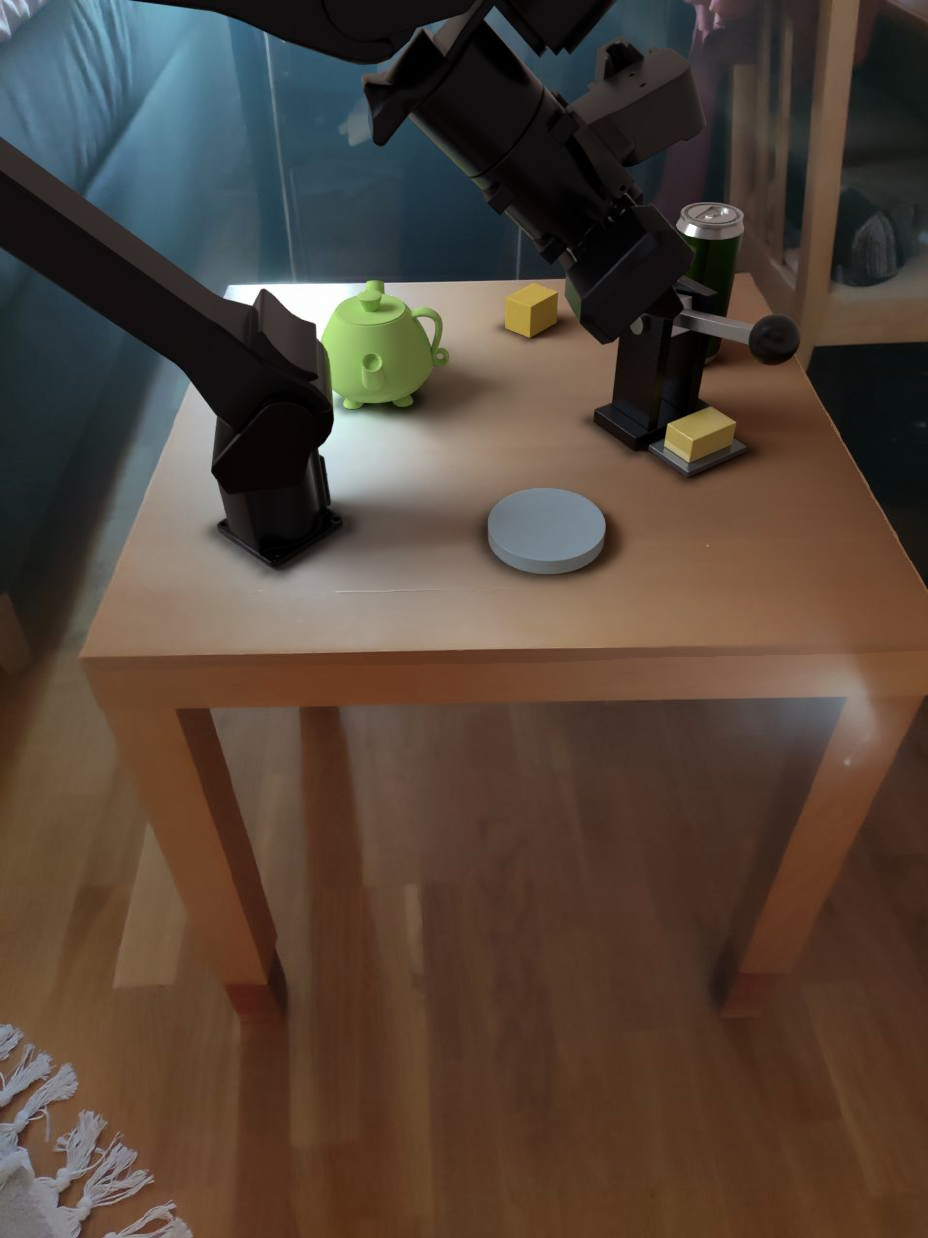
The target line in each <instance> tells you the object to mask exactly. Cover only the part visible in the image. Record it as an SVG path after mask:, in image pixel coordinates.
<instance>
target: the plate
mask: <svg viewBox="0 0 928 1238" xmlns="http://www.w3.org/2000/svg"><path fill="white" fill-rule="evenodd" d="M606 527H607V525H606V519H605V516H604V514H603V513H602V511H601V510H600V508H599V507H598V506H597V505H596V504H595V503H594V502H592V500H591V499H590V500H589V499H588V498H587V497H585V496H583V495H582V494H578V493H576V492H573V491H570V490H566V489H561V488H556V487H532V488H526V489H522V490H519V491H516V492H513V493H511V494H509V495H507V496H505V497H504V498H502V499H500V500H499V501H498V502H497V503H496V504H495V505H494V506H493V508H492V509H491V511H490V512H489V515H488V517H487V540H488V544H489V547H490V549H491V551H492V552H493V553H494V554H495V556H496V557H497V558H498V559H500V560H501V561H502V562H503V563H505V564H506V565H508V566H510V567H512V568H514V569H516V570H520V571H522V572H526V573H529V574H535V575H536V574H537V575H561V574H567V573H571V572H575V571H577V570H579V569H581V568H583V567H586V566H587V565H589V564H590V563H592V562H593V561H594V560H595V559H596V558H597V557H598V556H599V555H600V554H601V551H602V549H603V548H604V543H605V537H606Z"/></svg>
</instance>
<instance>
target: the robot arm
mask: <svg viewBox="0 0 928 1238" xmlns="http://www.w3.org/2000/svg"><path fill="white" fill-rule="evenodd" d="M129 1H131V2H137V3H145V4H152V5H153V4H154V5H160V6H167V7H175V8H182V9H190V10H198V11H204V12H212V13H215V14H219V15H222V16H224V17H227V18H231V19H233V20H237V21H240V22H242V23H244V24H246V25H249V26H251V27H253V28H255V29H257V30H259V31H262V32H264V33H266V34H268V35H270V36H273V37H275V38H277V39H279V40H281V41H283V42H286V43H289V44H291V45H293V46H297V47H300V48H304V49H306V50H309V51H313V52H315V53H317V54H322V55H324V56H327V57H331V58H334V59H336V60H338V61H339V60H340V61H343V62H346V63H349V64H354V65H357V66H368V65H369V66H370V65H379V64H381V63H384V62H386V61H390V60H391V59H392V58H394V56H395V55H396V54H397V53H398V52H399V51H401V50H402V49H403V48H404V47H405V48H404V49H403V51H402V52H401V53H400V55H399V56H398V57H397V58H396V59H395V61H394V62H393V64H391V66H390V68H389V69H388V70H386V71H383V72H378V73H369V72H365V73H363V74H362V75H361V77H360V83H361V87H362V91H363V94H364V96H365V98H366V101H367V108H368V109H367V122H368V127H369V132H370V136H371V140H372V143H373V144H374V145H375V146H376V147H378V148H382V147H385V146H386V145H387V144H388V143H389V141H390V140H391V138H392V137H393V136H394V135H395V133H396V132H397V131H398V130H399V128H400V127H401V126H402V125H403V123H404V122H405V121H406V119H408V120H409V121H410V122H411V123H412V124H413V125H414V126H415V127H416V128H417V129H418V130H419V131H420V132H421V133H423V134H424V135H425V136H426V137H427V138H428V139H429V141H431V142H432V143H433V144H434V145H435V146H436V147H437V148H438V149H439V150H440V151H441V152H442V153H443V154H444V156H446V157H447V158H448V159H449V160H450V161H451V162H452V163H454V164H455V166H456V167H457V168H459V169H460V171H461V172H462V173H463V174H465V175H466V176H467V177H468V179H470V180H471V181H472V182H473V183H474V184H475V185H476V186H477V187H478V188H479V189H480V192H481V194H482V196H483V198H484V200H485V202H486V204H487V205H488V206H489V207H490V208H491V209H492V210H493V211H494V212H495V213H496V214H497V215H498V216H501V215H502V214H503V213H504V214H506V215H507V216H508V217H509V219H511V220H512V221H513V222H514V223H515V224H516V225H517V226H518V227H519V228H520V229H521V230H522V231H523V232H524V233H525V234H526V235H527V236H528V237H529V238H530V239H531V240H532V243H533V245H534V247H535V249H536V251H537V252H538V254H539V255H540V256H541V257H542V259H544V260H545V261H546V262H547V263H548V264H549V265H550V266H553V264H554V263H555V262H556V261H557V260H558V261H559V263H560V265H561V267H562V269H563V270H564V272H565V281H564V282H565V284H564V297H565V299H566V301H567V303H568V305H569V307H570V308H571V310H572V312H573V315H574V316H575V318H576V320H577V321H578V322H577V323H578V324H579V325H580V326H581V327H582V328H583V329H584V330H585V331H586V332H588V333H589V334H590V335H591V337H592V338H594V339H595V340H596V341H598V343H599V344H600V345H602V346H604V345H608V344H612V343H614V342H616V340H617V339H619V336H620V335H621V334H622V333H623V332H624V331H625V330H627V329H628V328H629V327H630V326H631V325H632V324H633V323H634V322H635V321H636V320H637V319H638V318H639V317H640V316H641V315H642V314H643V313H645V314H648V315H652V316H656V317H660V318H664V319H667V320H673V319H674V318H676V317H677V316H678V315H679V314H680V313H681V312H682V311H683V309H684V305H683V303H682V301H681V300H680V298H679V296H678V294H677V292H676V290H675V288H674V287H673V284H674V283H675V282H676V281H677V280H678V279H680V278H681V277H682V276H683V275H684V274H685V273H686V272H687V271H688V270H689V269H690V268H691V266H692V264H693V261H694V258H695V256H696V253H695V252H694V251H693V250H692V249H691V247H690V246H689V245H688V244H687V243H686V241H685V240H684V239H683V238H682V237H681V236H680V234H679V233H678V232H677V231H676V230H675V227H674V226H673V225H672V224H671V223H670V222H669V220H668V219H667V218H666V217H665V216H664V215H663V213H662V212H661V211H660V210H659V209H658V208H657V206H656V205H655V204H653V203H652V202H650V203H648V204H644V203H645V201H644V199H645V196H644V192H643V191H642V190H641V189H640V188H639V186H638V185H637V184H636V180H635V178H634V177H633V176H632V175H631V173H630V172H629V171H628V170H627V169H626V168H630V167H631V168H632V167H635V166H637V165H639V164H642V163H643V162H645V161H647V160H649V159H650V158H652V157H654V156H656V155H658V154H659V153H661V152H664V150H667V149H668V148H670V147H672V146H674V145H676V144H677V143H679V142H681V141H684V142H688V141H690V140H691V139H693V138H696V137H697V136H698V135H700V134H701V133H702V132H703V131H704V129H706V126H707V120H706V117H705V112H704V109H703V105H702V102H701V98H700V93H699V90H698V85H697V82H696V78H695V75H694V71H693V67H692V63H691V61H689V60H687V59H686V58H685V57H684V56H682V55H681V54H680V53H678V52H677V51H676V50H675V49H673V48H671V47H663V48H659V47H658V46H657V45H653V46H651V47H650V48H648V54H646V55H643V54H642V53H641V51H639V49H638V48H636V47H635V46H634V45H633V44H632V43H631V42H630V41H629V40H627V39H626V38H625V37H624V36H623V35H619V36H616V37H615V38H614V39H612V40H611V41H609V42H607V43H606V44H604V45H602V46H601V47H599V48H597V52H596V62H595V72H594V81H592V82H590V83H588V84H587V85H586V88H587V90H588V92H586V93H585V94H582V96H580V97H578V98H577V99H576V100H574V101H572V102H571V103H569V102H568V101H567V100H566V98H565V97H564V96H563V95H562V94H561V93H560V92H559V90H558V89H557V88H556V87H553V88H552V90H550V89H549V88H548V87H547V86H545V85H544V84H543V83H542V81H541V80H540V79H539V78H538V77H537V76H536V75H535V73H534V72H533V71H532V70H531V69H530V68H529V67H528V66H527V65H526V64H525V62H524V61H523V60H522V59H521V57H519V55H518V54H517V53H516V52H515V51H514V50H513V49H512V48H511V47H510V45H508V42H506V41H505V40H504V39H503V37H501V35H500V34H499V33H498V32H497V31H496V29H495V28H494V27H493V26H492V25H491V24H490V23H489V22H488V21H487V20H486V17H487V16H488V15H489V13H490V12H491V11H492V10H493V8H494V7H495V8H496V10H497V11H498V12H499V13H500V14H501V16H503V18H504V19H505V20H506V21H507V22H508V23H509V25H510V26H511V27H512V28H513V30H514V31H516V33H517V34H518V35H519V36H520V37H521V39H523V41H524V42H525V43H526V44H527V45H528V46H529V48H530V49H531V50H532V51H533V52H534V53H535V55H536V56H537V57H538V58H539V59H541V58H542V57H543V55H544V54H545V53H546V51H548V49H550V51H551V52H552V53H553V54H554V56H555V57H558V55H559V54H560V52H561V51H563V49H564V51H565V52H567V54H568V55H569V56H571V55H572V54H573V53H574V52H575V50H576V49H577V48H578V47H579V46H580V45H581V44H582V42H583V41H584V40H585V39H586V38H587V36H588V35H590V33H591V32H592V30H593V29H594V28H595V27H596V26H597V25H598V23H599V22H600V21H601V20H602V19H603V17H605V15H606V14H607V13H608V12H609V10H610V9H612V7H613V6H614V5H615V4H616V3H617V1H618V0H129ZM446 20H447V21H446ZM442 21H445V22H444V23H443V24H442V25H441V27H440V28H438V30H437V31H436V32H435V33H433V32H432V31H431V30H429V29H428V28H427V27H425V26H428V25H432V24H436V23H439V22H442ZM417 29H418V30H417ZM416 31H417V32H416ZM415 32H416V33H415ZM413 35H414V36H413ZM547 47H548V48H547ZM0 249H1V250H3V251H4V252H6V253H7V254H9V255H10V256H12V257H13V258H15V259H16V260H18V261H20V263H22V264H24V265H25V266H27V267H28V268H30V269H32V271H34V272H36V273H38V274H39V275H41V276H42V277H44V278H45V279H46V280H48V281H49V282H51V283H53V285H55V286H57V287H58V288H60V289H62V290H63V291H65V292H66V293H68V294H69V295H70V296H72V297H74V298H75V299H77V300H78V301H80V302H81V303H83V304H84V305H86V306H87V307H88V308H90V309H92V310H93V311H95V312H96V313H98V314H99V315H101V316H102V317H104V318H105V319H107V320H108V321H110V322H111V323H112V324H114V325H115V326H117V327H119V328H120V329H122V330H123V331H125V332H126V333H127V334H129V335H131V336H132V337H133V338H135V339H136V340H138V341H139V342H141V343H143V344H144V345H146V346H147V347H149V348H151V350H153V351H155V353H157V354H159V355H161V356H163V357H164V358H166V359H167V360H169V361H170V362H171V363H173V364H174V365H175V366H176V367H178V368H179V369H180V370H181V371H182V372H183V373H184V375H185V376H186V377H187V378H188V380H189V381H190V383H191V384H192V385H193V386H194V388H195V389H196V391H197V392H198V393H199V395H200V396H201V397H202V398H203V400H204V401H205V403H206V404H207V405H208V407H209V408H210V410H211V411H212V412H213V414H214V416H216V422H215V430H214V439H213V440H214V441H213V447H212V448H213V449H212V458H211V466H210V472H211V474H212V476H213V477H214V479H215V480H216V483H217V486H218V490H219V493H220V498H221V501H222V505H223V509H224V513H225V516H226V517H225V518H224V519H222V520H220V521H219V522H218V523H217V524H216V528H217V531H218V532H219V533H220V534H221V535H223V536H224V537H225V538H227V539H229V540H230V541H231V542H233V544H236V545H237V546H239V547H240V548H242V549H243V550H244V551H246V552H247V553H249V554H250V555H252V556H253V557H255V558H256V559H258V560H259V561H261V562H262V563H264V564H265V565H267V566H268V567H270V568H274V569H276V568H279V567H281V566H282V565H285V564H286V563H287V562H289V561H290V560H292V559H294V558H295V557H297V556H298V555H300V554H301V553H303V552H305V551H307V549H309V548H311V547H312V546H314V545H315V544H317V543H319V542H320V541H322V540H324V539H325V538H327V537H328V536H330V535H331V534H333V533H335V532H336V531H338V530H339V529H341V528H342V527H343V526H344V524H345V522H344V517H343V516H342V515H340V514H339V513H337V512H335V511H333V510H332V509H331V508H329V507H330V506H331V505H332V497H331V492H330V491H331V490H330V484H329V478H328V472H327V464H326V457H324V456H323V455H322V454H320V450H319V448H320V447H321V446H322V445H324V444H325V443H326V441H327V440H328V438H329V437H330V435H331V434H332V431H333V427H334V423H335V410H334V396H333V395H334V394H333V390H332V379H331V368H330V360H329V357H328V352H327V351H326V349H325V347H324V345H323V344H322V343H321V340H320V339H318V335H317V334H318V333H317V324H316V323H315V322H312V321H309V320H307V319H302V318H301V317H299V316H298V315H296V314H294V313H293V312H291V311H290V310H289V309H288V308H287V307H286V306H285V305H284V304H283V303H282V302H281V301H280V300H279V299H278V298H277V297H276V295H274V294H273V293H272V292H270V290H268V289H267V288H261V289H260V290H259V292H258V294H257V295H256V298H255V299H254V302H253V303H252V304H247V303H244V302H239V301H236V300H231V299H228V298H224V297H222V296H220V295H218V294H216V293H215V292H213V291H212V290H210V289H209V288H208V287H206V286H205V285H203V284H202V283H200V282H199V281H198V280H197V279H195V278H194V277H192V276H191V275H190V274H188V273H187V272H186V271H184V270H183V269H182V268H181V267H179V266H177V265H176V264H175V263H173V262H172V261H171V260H169V259H168V258H167V257H165V256H164V255H162V253H160V252H159V251H157V250H156V249H154V248H153V247H152V246H150V245H149V244H148V243H146V242H145V241H144V240H142V239H141V238H139V236H137V235H136V234H134V233H132V232H131V231H130V230H129V229H127V228H126V227H125V226H123V225H122V224H120V223H119V222H118V221H116V220H115V219H114V218H113V217H111V216H110V215H108V214H107V213H105V212H104V211H103V210H101V209H100V208H99V207H97V206H96V205H95V204H93V203H92V202H91V201H89V200H87V198H85V197H84V196H82V195H81V194H79V193H78V192H77V191H76V190H74V188H73V189H72V188H71V186H69V185H67V184H66V183H65V182H63V181H62V180H61V179H60V178H58V177H56V176H55V175H54V174H52V173H51V172H50V171H49V170H47V169H45V168H44V167H43V166H42V165H40V164H38V163H37V162H36V161H35V160H33V159H32V158H31V157H29V156H28V155H27V154H25V153H24V152H22V151H21V150H19V148H17V147H16V146H14V145H13V144H12V143H10V142H9V141H8V140H6V139H5V138H3V137H2V136H0Z"/></svg>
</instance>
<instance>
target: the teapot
mask: <svg viewBox="0 0 928 1238" xmlns="http://www.w3.org/2000/svg"><path fill="white" fill-rule="evenodd" d="M385 289H386V288H385V282H384V281H383V280H377V279H376V280H374V279H373V280H367V281H366V282H365V290H363V291H360V292H358V293H357V295H354V296H351V297H348V298H346V299H344V300H343V301H341V302H340V303H339V304H338V305H337V306H336V307H335V309H334V310H333V312H332V313H331V315H330V318H329V320H328V321H327V323H326V325H325V327H324V329H323V332H322V335H321V338H320V342H321V343H322V344H323V345H324V347H325V349H326V351H327V352H328V357H329V360H330V368H331V379H332V391H334V393H336V394H338V395H339V396H340V397H342V398H344V401H343V407H344V408H346V409H349V410H356V409H360V408H361V407H362V406H363V405H364V404H366V403H367V404H379V403H380V404H381V403H389V402H392V404H393V405H394V406H396V407H399V408H405V407H408V406H411V405H412V404H413V403H414V400H413V397H412V396H411V394H413V393H415V392H416V391H417V390H418V389H419V388H420V387H422V385H423V384H424V383H425V382H426V381H427V379H429V376H430V375H431V374H432V371H433V367H435V368H443V367H445V366H446V365H448V363H450V357H451V356H450V352H449V351H448V350H447V348H445V347H440V343H441V341H442V337H443V331H444V330H443V329H444V324H443V319H442V317H441V315H440V314H439V313H438V312H437V311H436V310H435V309H432V308H430V307H426V306H420V307H416V308H413V309H411V308H410V307H409V306H408V305H407V304H406V303H405V302H404V301H403V300H402V299H400V298H398V297H396V296H394V295H391V294H386V293H385V292H386V291H385ZM422 317H425V318H428V319H431V320H432V321H433V322H434V326H435V327H434V328H435V329H434V336H433V339H432V344H431V341H430V338H429V337H428V334H427V332H426V330H425V329H424V326H423V325H422V323H421V322H420V320H419V319H418V318H422ZM438 355H442V357H441V358H439V357H438Z"/></svg>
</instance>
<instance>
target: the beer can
mask: <svg viewBox="0 0 928 1238" xmlns="http://www.w3.org/2000/svg"><path fill="white" fill-rule="evenodd" d="M744 216H745V214H744V213H743V211H742V210H740V208H738V207H735V206H733V205H731V204H726V203H722V202H713V201H711V202H710V201H708V202H705V201H704V202H703V201H701V202H695V203H691V204H688V205H686V206H684V207H683V208H682V209H681V211H680V216H679V218H678V220H677V222H676V224H675V227H674V229H675V230H676V231H677V232H678V233H679V234H680V236H681V237H682V238H683V239H684V240H685V241H686V243H687V244H688V245H689V246H690V247H691V249H692V250H693V251H694V252H695V253H696V256H695V258H694V261H693V264H692V266H691V268H690V269H689V270H688V271H687V272H686V273H685V274H684V276H686V277H688V278H690V279H692V280H694V281H696V282H698V283H700V284H702V285H704V286H706V287H708V288H710V289H712V290H714V291H716V292H718V295H717V300H716V306H715V311H714V315H716V316H721V317H725V318H728V317H727V316H728V312H729V307H730V302H731V297H732V293H733V288H734V281H735V276H736V271H737V267H738V262H739V258H740V253H741V246H742V242H743V236H744V232H745V226H744V222H743V220H744V218H745V217H744ZM722 342H723V338H720V337H717V336H713V335H710V338H709V343H708V348H707V354H706V359H705V364H704V365H706V364H708V363H711V362H712V361H713V360H714V359H715V358H716V357H717V355H718V354H719V353H720V351H721V347H722Z"/></svg>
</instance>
